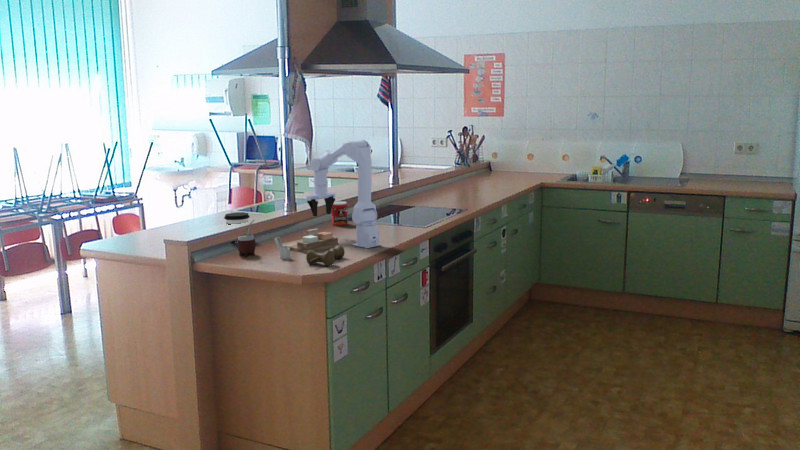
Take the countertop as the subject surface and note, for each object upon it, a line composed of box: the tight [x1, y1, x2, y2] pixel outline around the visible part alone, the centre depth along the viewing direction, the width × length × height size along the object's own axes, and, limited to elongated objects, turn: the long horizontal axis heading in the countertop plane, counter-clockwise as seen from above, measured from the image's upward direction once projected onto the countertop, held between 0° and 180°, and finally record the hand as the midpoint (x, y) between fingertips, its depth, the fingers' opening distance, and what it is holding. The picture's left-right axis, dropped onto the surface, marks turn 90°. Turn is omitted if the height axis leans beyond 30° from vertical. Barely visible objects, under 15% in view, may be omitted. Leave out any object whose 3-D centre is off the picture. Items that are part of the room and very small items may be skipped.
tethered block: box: [306, 228, 334, 241], centre depth 291 cm, size 11×5×5 cm, turn 46°
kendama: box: [305, 245, 346, 267], centre depth 263 cm, size 6×10×20 cm
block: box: [301, 235, 318, 244], centre depth 284 cm, size 4×4×4 cm
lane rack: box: [281, 236, 340, 254], centre depth 291 cm, size 19×17×4 cm
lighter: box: [273, 236, 291, 260], centre depth 271 cm, size 7×2×8 cm, turn 52°
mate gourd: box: [236, 219, 256, 258], centre depth 276 cm, size 8×8×15 cm
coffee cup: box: [223, 211, 250, 225], centre depth 304 cm, size 11×11×12 cm
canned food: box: [331, 200, 349, 227], centre depth 340 cm, size 8×8×11 cm
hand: (321, 214), depth 309 cm, fingers open, 7 cm apart
